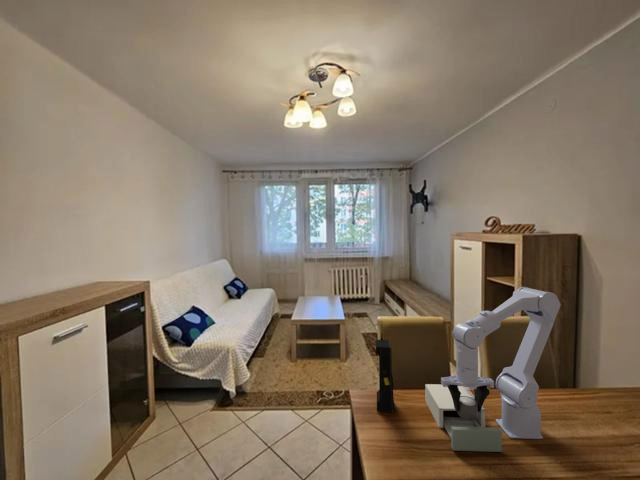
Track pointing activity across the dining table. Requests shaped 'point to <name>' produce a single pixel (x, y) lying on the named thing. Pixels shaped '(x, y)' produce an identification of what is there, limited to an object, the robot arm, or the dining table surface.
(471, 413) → the grey cylinder white face
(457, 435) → the grey green drawer
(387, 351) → the portable radio
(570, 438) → the dining table surface
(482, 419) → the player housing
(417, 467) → the dining table surface
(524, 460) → the dining table surface
